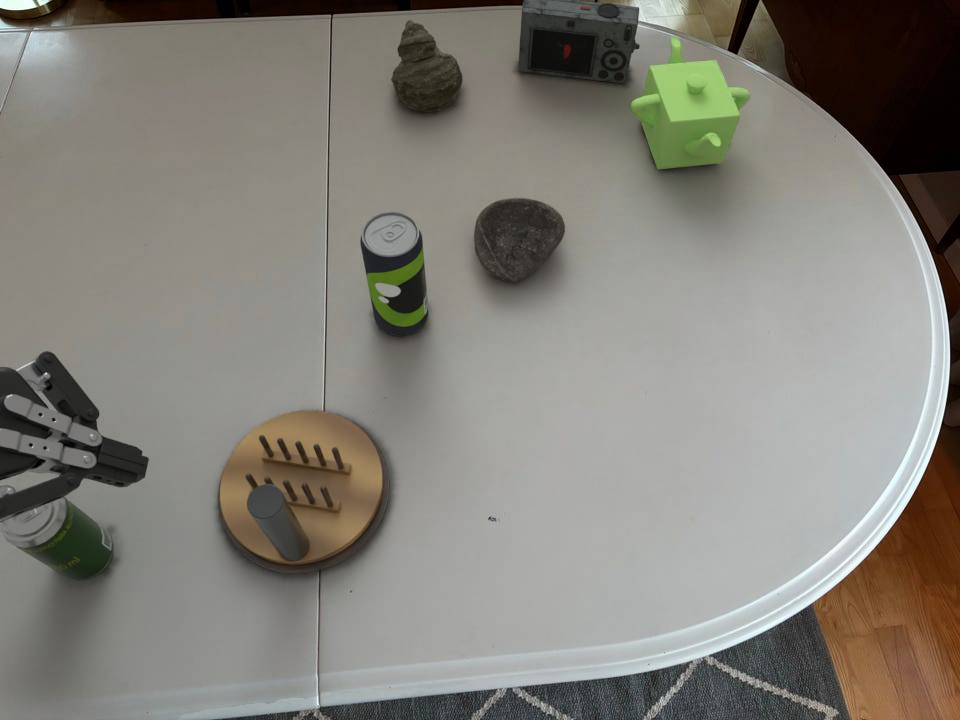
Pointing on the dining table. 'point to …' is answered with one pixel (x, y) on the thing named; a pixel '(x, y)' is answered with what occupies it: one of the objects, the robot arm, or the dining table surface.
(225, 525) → the base
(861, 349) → the dining table surface
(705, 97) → the teapot
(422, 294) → the beverage can
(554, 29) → the camera
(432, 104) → the seashell
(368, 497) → the dish rack
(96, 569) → the beer can
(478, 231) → the stone
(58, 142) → the dining table surface
